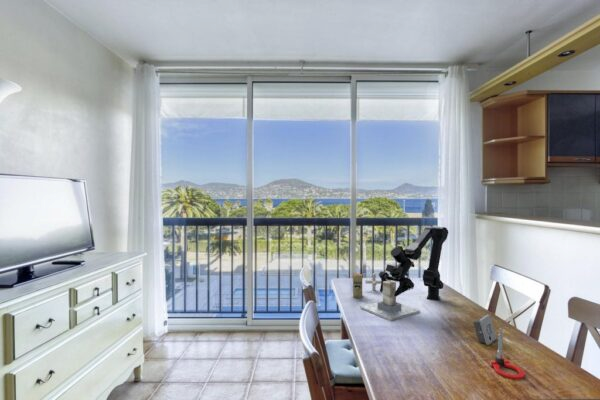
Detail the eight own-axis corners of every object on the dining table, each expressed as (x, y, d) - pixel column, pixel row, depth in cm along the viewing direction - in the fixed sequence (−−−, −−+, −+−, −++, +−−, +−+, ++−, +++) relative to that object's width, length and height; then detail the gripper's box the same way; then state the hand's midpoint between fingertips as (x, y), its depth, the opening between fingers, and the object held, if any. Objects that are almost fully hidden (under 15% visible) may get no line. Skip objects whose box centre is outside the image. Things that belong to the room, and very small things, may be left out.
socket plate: (388, 301, 180) (388, 294, 180) (419, 312, 163) (419, 305, 163) (360, 308, 169) (360, 301, 169) (390, 320, 153) (390, 313, 153)
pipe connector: (381, 288, 205) (381, 271, 205) (383, 293, 195) (383, 275, 195) (364, 287, 206) (364, 271, 206) (366, 292, 196) (366, 275, 196)
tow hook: (531, 379, 105) (509, 363, 114) (533, 339, 104) (510, 326, 113) (506, 382, 104) (486, 365, 113) (508, 341, 103) (487, 328, 112)
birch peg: (389, 306, 169) (389, 280, 169) (395, 308, 166) (395, 282, 165) (382, 307, 167) (382, 281, 167) (389, 310, 163) (389, 283, 163)
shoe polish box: (362, 297, 187) (362, 276, 186) (353, 297, 188) (353, 275, 187) (362, 295, 191) (362, 273, 191) (353, 294, 192) (353, 273, 192)
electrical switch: (488, 346, 127) (486, 321, 128) (474, 343, 131) (471, 318, 132) (497, 338, 134) (494, 315, 134) (483, 336, 137) (481, 312, 138)
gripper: (380, 255, 176) (365, 279, 170) (410, 261, 160) (394, 288, 154) (391, 268, 180) (376, 292, 175) (421, 275, 165) (405, 302, 159)
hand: (387, 293), depth 166 cm, fingers open, 9 cm apart
